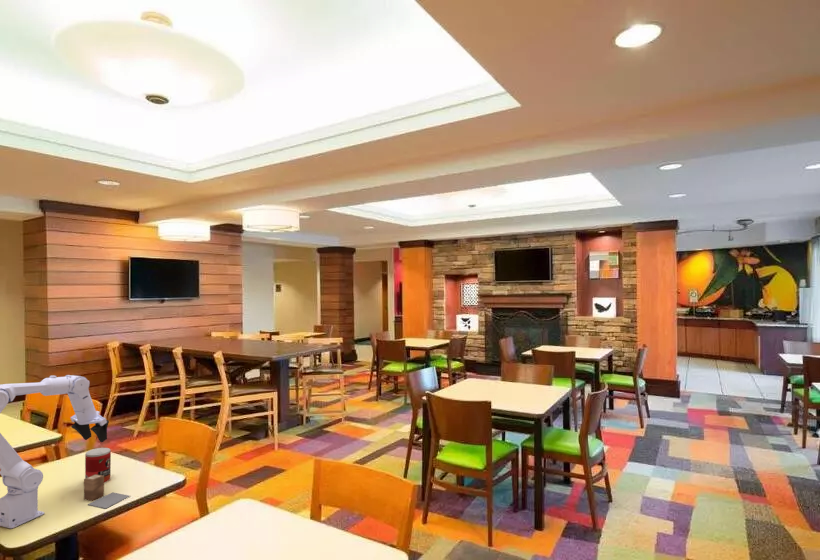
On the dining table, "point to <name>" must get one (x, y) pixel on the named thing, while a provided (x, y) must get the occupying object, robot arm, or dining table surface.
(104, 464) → the canned food
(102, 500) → the felt mat
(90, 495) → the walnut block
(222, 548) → the dining table surface
